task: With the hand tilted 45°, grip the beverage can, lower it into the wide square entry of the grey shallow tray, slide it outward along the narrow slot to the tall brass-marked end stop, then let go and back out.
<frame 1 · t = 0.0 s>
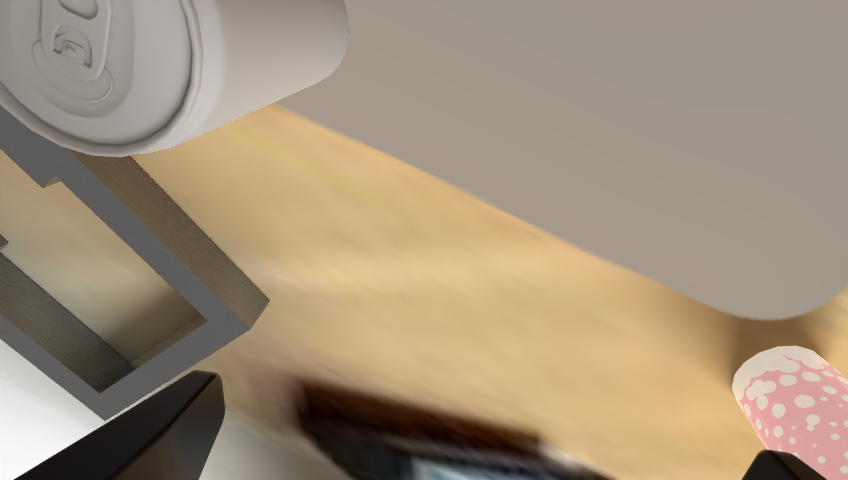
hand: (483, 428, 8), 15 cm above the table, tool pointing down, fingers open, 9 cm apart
beverage cup: (775, 377, 25), on the table
grey shallow tray: (61, 223, 24), on the table
beverage can: (296, 22, 19), on the table
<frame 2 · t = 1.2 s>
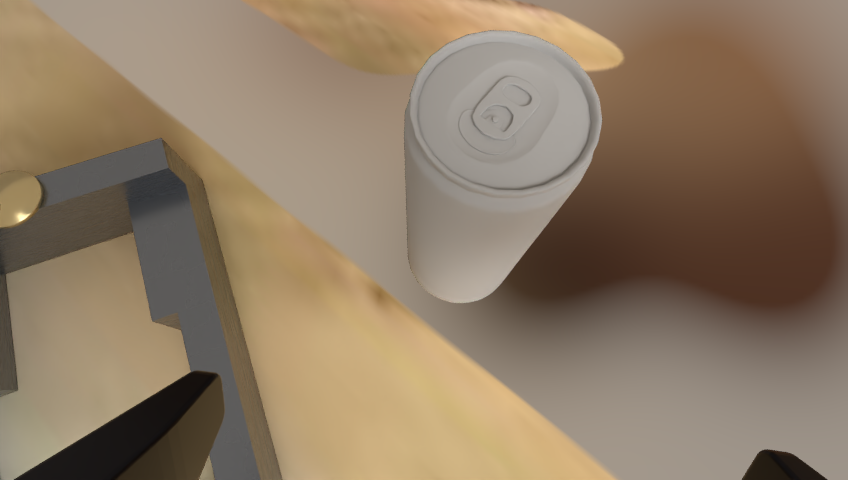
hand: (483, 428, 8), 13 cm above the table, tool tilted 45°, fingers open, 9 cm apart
grey shallow tray: (105, 381, 20), on the table
beverage can: (457, 257, 22), on the table
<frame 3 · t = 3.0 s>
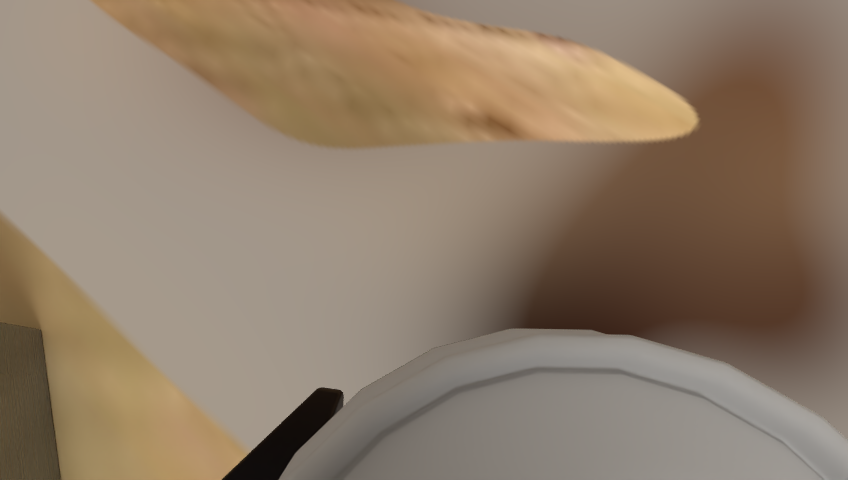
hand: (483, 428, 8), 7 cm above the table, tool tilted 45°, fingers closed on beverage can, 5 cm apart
beverage can: (447, 463, 14), on the table, touching gripper
when the fingers open (7 cm above the table, at t = 9.8 s): beverage can stays where it is, resting in grey shallow tray.
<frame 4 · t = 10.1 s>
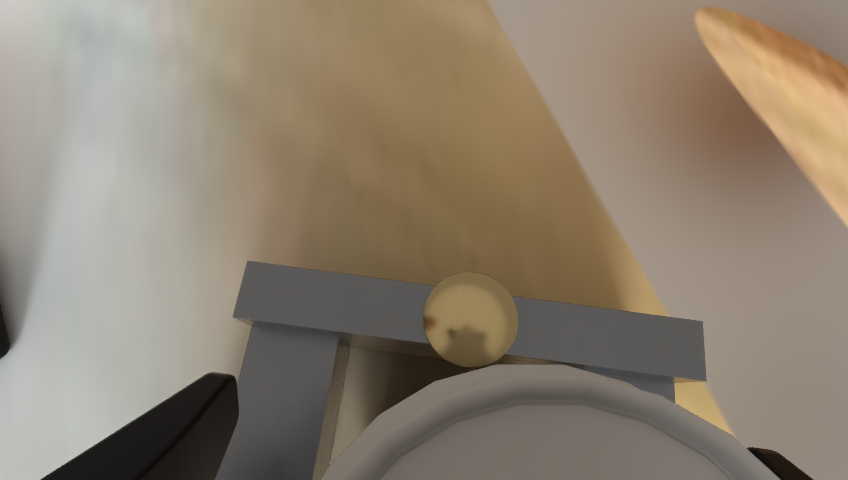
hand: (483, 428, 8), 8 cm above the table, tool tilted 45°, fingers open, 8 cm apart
beverage can: (448, 465, 15), resting in grey shallow tray
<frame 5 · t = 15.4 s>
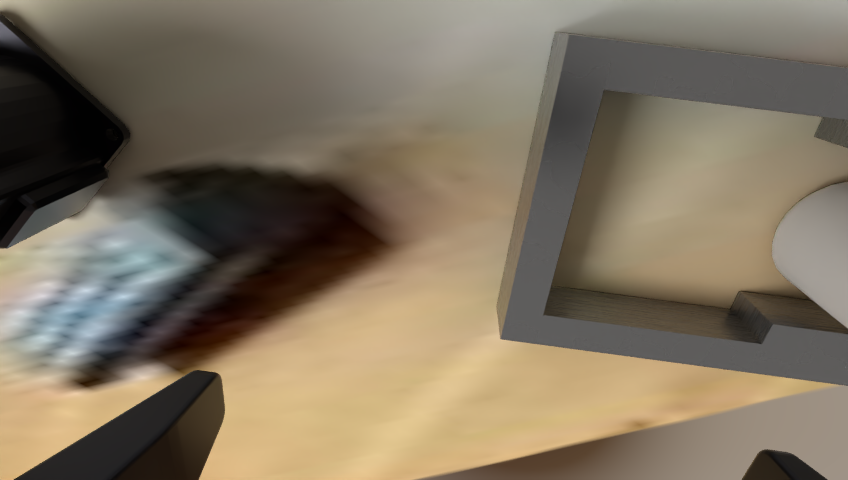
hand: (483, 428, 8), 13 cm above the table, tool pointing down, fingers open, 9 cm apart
grey shallow tray: (749, 216, 19), on the table
beverage can: (823, 229, 19), resting in grey shallow tray
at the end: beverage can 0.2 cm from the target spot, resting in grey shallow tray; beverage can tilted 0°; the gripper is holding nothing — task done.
